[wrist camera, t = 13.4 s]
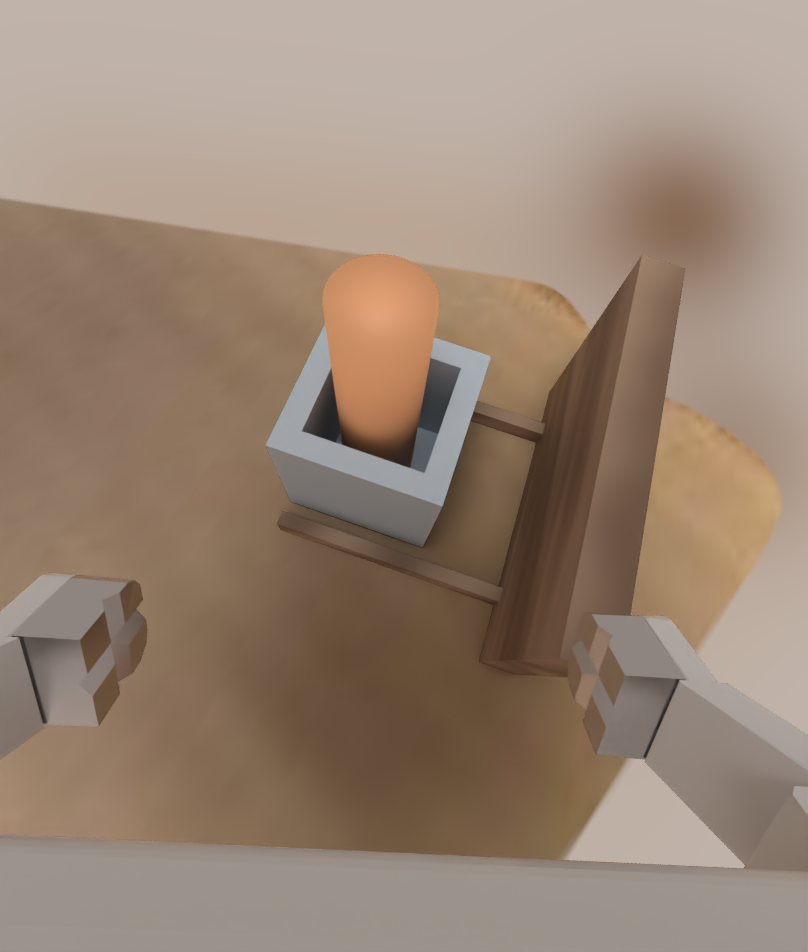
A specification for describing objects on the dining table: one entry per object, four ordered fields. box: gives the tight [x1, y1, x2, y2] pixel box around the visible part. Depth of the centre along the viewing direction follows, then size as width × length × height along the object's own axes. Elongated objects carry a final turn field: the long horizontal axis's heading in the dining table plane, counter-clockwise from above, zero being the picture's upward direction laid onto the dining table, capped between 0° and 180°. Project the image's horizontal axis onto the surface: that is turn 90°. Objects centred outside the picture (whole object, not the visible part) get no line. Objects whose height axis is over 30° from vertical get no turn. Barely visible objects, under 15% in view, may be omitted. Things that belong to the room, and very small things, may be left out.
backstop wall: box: [277, 255, 685, 677], centre depth 25 cm, size 15×18×12 cm
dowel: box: [322, 254, 440, 468], centre depth 23 cm, size 4×4×14 cm
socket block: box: [265, 325, 491, 548], centre depth 27 cm, size 8×8×8 cm
